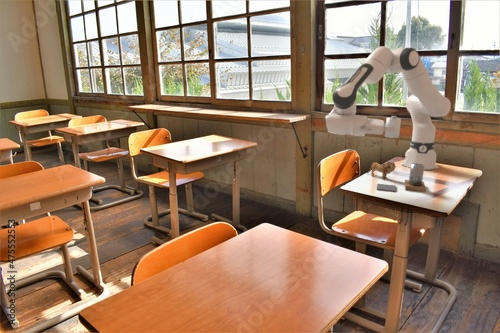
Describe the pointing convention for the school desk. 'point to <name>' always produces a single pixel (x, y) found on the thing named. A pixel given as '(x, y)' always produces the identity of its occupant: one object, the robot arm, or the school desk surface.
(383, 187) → the coaster
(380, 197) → the school desk surface
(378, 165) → the lion figurine
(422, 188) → the caddy
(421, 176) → the flask
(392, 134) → the white canister
